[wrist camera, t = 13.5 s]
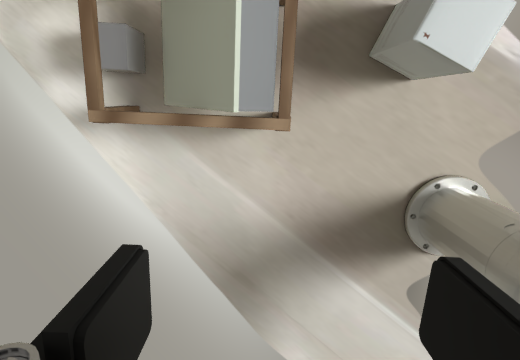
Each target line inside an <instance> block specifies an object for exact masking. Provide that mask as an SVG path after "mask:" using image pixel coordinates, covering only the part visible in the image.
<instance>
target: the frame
mask: <svg viewBox="0 0 520 360" xmlns="http://www.w3.org/2000/svg"><path fill="white" fill-rule="evenodd" d="M279 5H285V7H284V24H283V42H282V59H281V77H280V94H279V111H278V112H273V114H272V118H267V117H244V116H222V115H199V114H177V113H155V112H140V108H139V106H114V107H104V96H103V83H102V70H101V57H100V44H99V31H98V18H97V5H96V0H78V7H79V18H80V29H81V40H82V51H83V62H84V74H85V85H86V96H87V107H88V118H89V122H93V123H130V124H152V125H175V126H198V127H220V128H243V129H266V130H275V131H290V123H291V116H290V112H291V97H292V82H293V67H294V52H295V37H296V22H297V7H298V0H279Z"/></svg>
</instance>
